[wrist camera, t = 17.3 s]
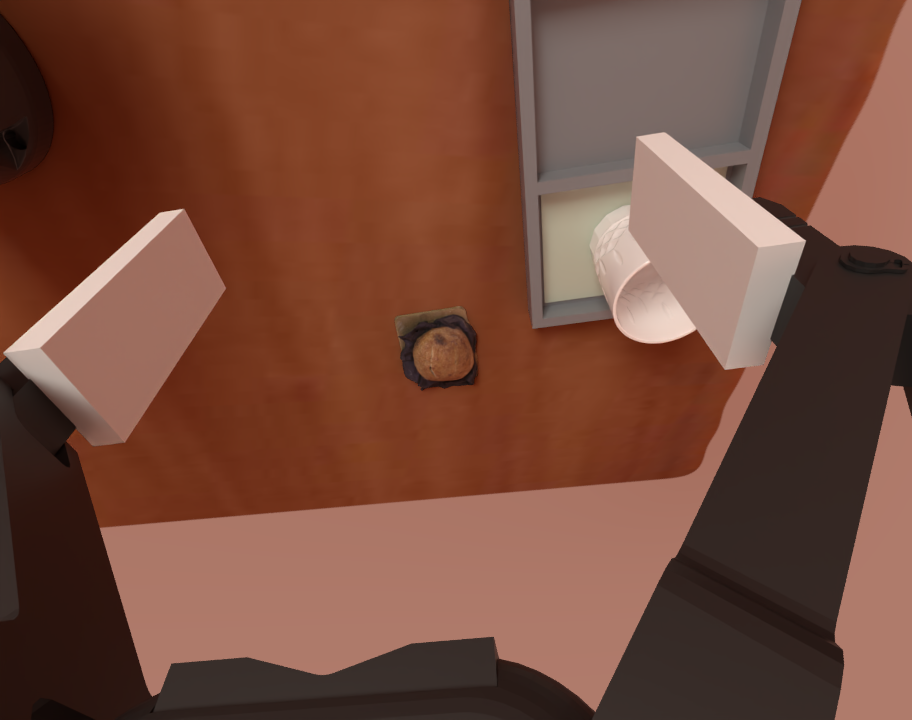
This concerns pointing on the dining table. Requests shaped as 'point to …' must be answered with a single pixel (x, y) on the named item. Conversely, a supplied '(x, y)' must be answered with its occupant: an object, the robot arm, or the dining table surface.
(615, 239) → the white cup
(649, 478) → the dining table surface
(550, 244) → the gray divided tray
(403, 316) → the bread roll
